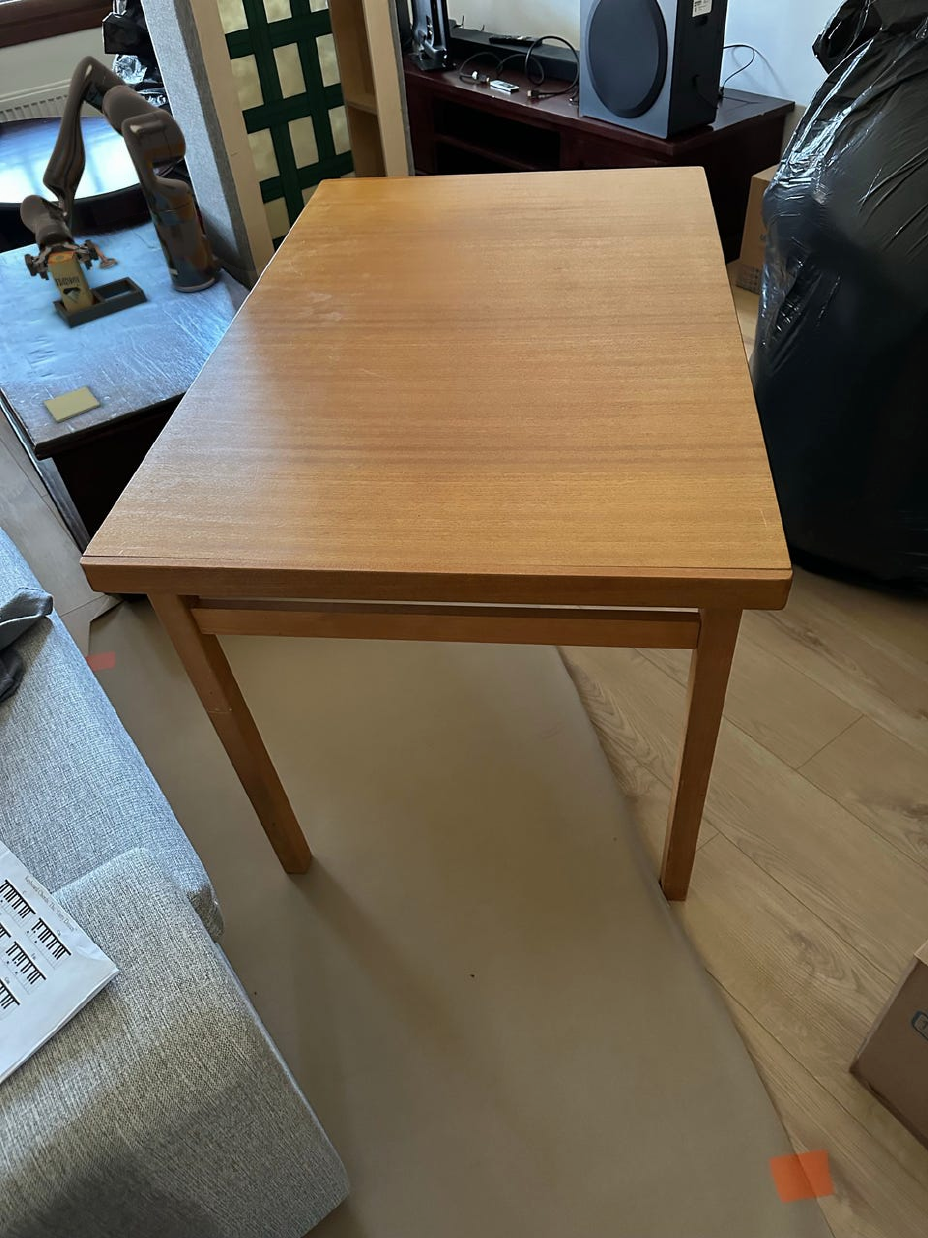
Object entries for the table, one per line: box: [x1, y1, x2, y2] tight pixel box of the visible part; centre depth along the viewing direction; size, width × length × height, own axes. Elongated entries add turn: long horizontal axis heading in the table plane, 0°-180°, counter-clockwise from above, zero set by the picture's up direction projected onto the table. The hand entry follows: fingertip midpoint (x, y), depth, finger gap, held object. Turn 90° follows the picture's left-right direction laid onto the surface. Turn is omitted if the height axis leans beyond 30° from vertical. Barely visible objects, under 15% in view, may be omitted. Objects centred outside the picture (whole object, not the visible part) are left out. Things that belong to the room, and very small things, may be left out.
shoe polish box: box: [47, 251, 96, 313], centre depth 175 cm, size 5×5×12 cm
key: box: [92, 242, 116, 268], centre depth 199 cm, size 6×1×15 cm
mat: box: [43, 386, 101, 423], centre depth 154 cm, size 8×8×1 cm
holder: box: [52, 276, 147, 329], centre depth 180 cm, size 17×9×2 cm, turn 126°
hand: (66, 270), depth 171 cm, fingers open, 8 cm apart
